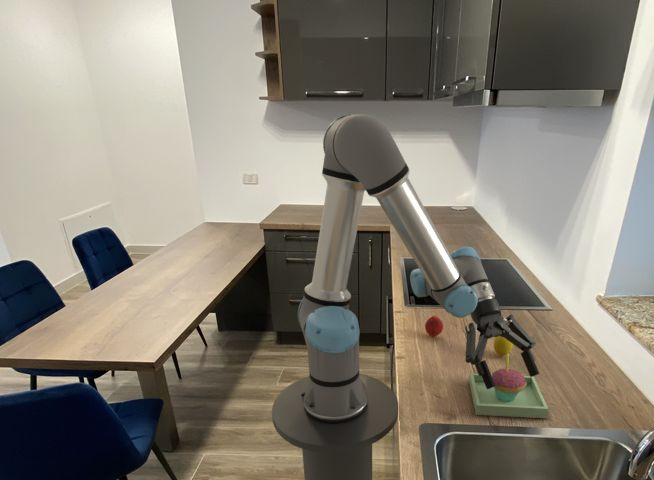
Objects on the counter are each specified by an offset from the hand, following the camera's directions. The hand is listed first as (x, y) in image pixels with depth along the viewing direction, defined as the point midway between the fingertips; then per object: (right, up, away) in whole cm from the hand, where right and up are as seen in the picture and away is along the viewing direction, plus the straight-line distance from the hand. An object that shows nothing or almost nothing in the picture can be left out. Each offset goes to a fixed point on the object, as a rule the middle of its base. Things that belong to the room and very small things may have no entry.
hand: (513, 381), depth 108 cm
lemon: (+4, +4, +25) cm, 26 cm away
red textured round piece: (-15, +9, +37) cm, 41 cm away
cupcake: (-1, -5, +4) cm, 6 cm away
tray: (-1, -5, +4) cm, 7 cm away
